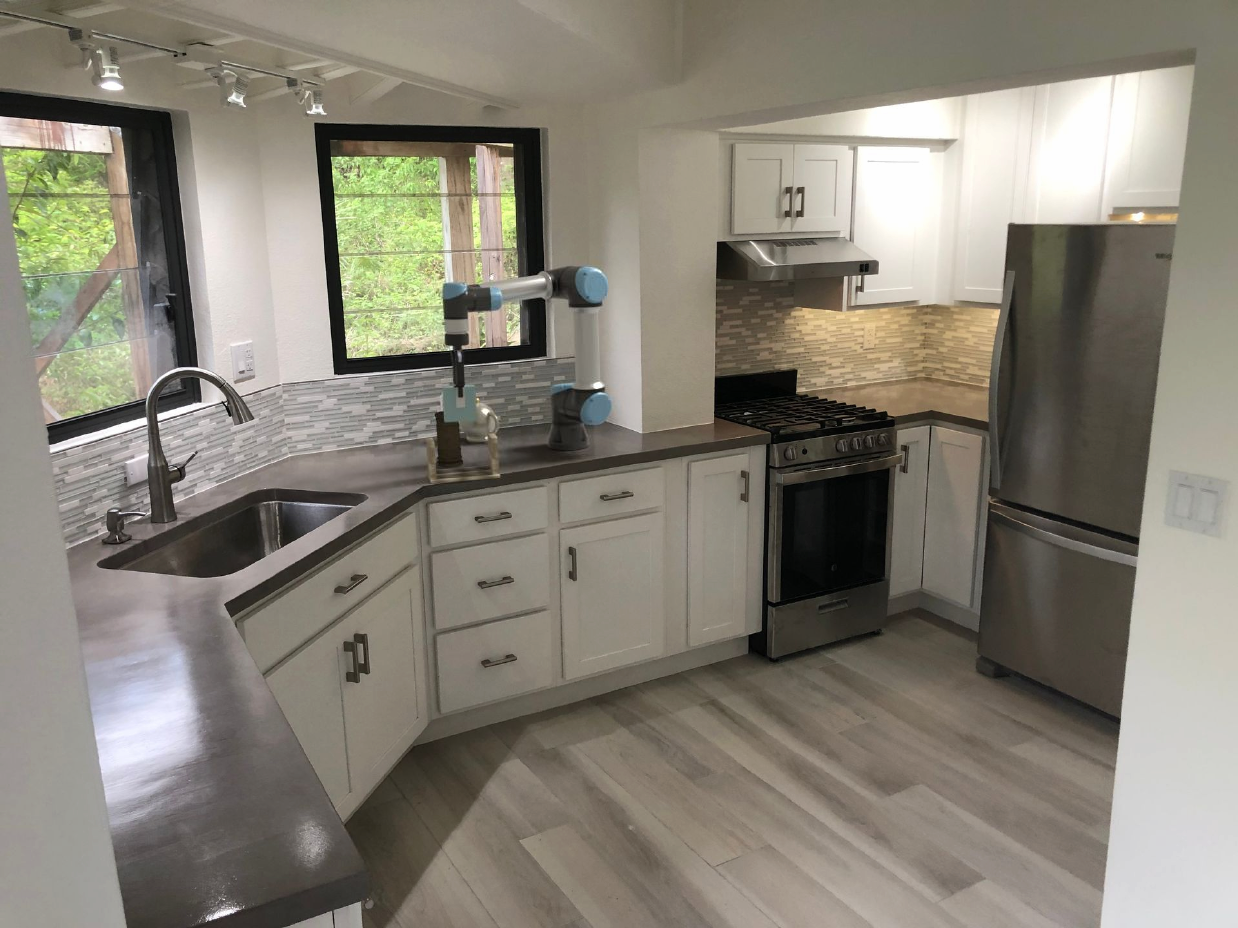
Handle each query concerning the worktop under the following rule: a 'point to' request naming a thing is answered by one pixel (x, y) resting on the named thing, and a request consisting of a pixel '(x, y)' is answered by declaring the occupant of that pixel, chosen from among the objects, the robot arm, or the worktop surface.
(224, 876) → the worktop surface
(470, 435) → the teapot
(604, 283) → the robot arm
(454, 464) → the container
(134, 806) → the worktop surface
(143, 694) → the worktop surface
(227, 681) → the worktop surface
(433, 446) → the wooden rack
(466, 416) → the door panel
